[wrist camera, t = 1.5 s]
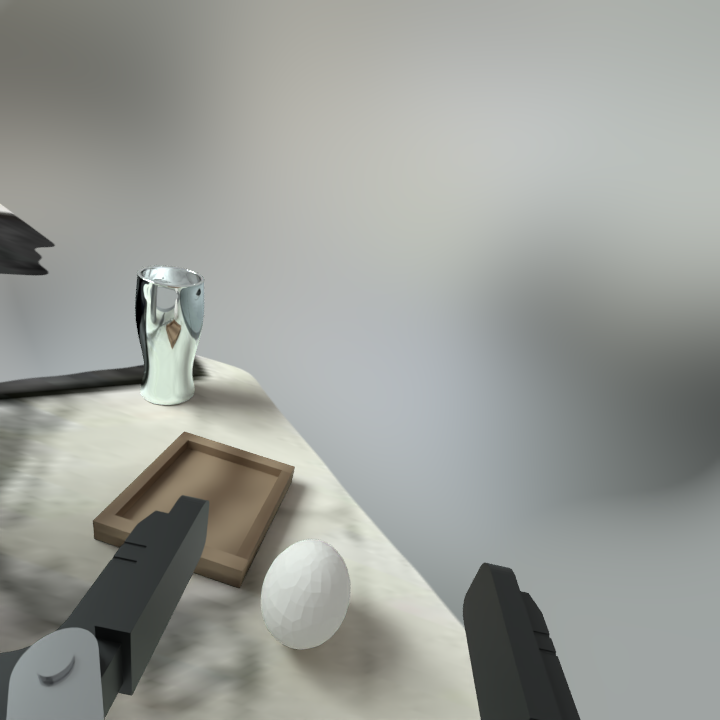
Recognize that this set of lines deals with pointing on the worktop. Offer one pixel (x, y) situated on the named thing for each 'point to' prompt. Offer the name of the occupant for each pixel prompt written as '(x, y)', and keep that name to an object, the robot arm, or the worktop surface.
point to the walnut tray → (208, 482)
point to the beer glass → (168, 331)
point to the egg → (305, 594)
